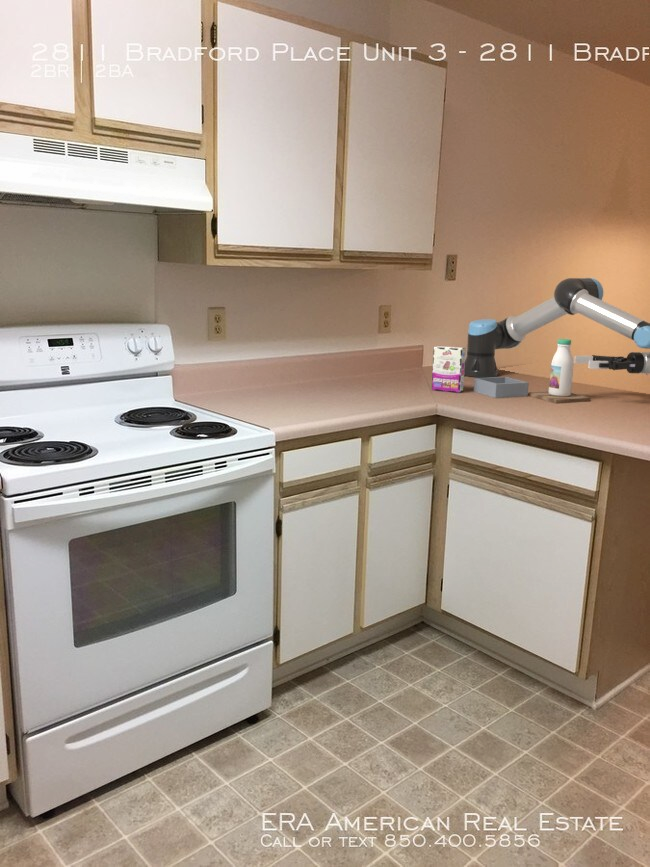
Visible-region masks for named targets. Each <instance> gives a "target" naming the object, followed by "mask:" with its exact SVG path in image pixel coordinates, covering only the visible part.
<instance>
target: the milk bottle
mask: <svg viewBox="0 0 650 867" xmlns="http://www.w3.org/2000/svg"><path fill="white" fill-rule="evenodd" d="M571 345H572V340H571V339H568V338H559V339H557V349H556V351H555V352H554V355H553V358H552V360H551V364H550V371H549V382H548V391H549V394H550V395H553V396H570V395H571V393H572V385H573V376H574V358H573V356H572V352H571Z"/></svg>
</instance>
